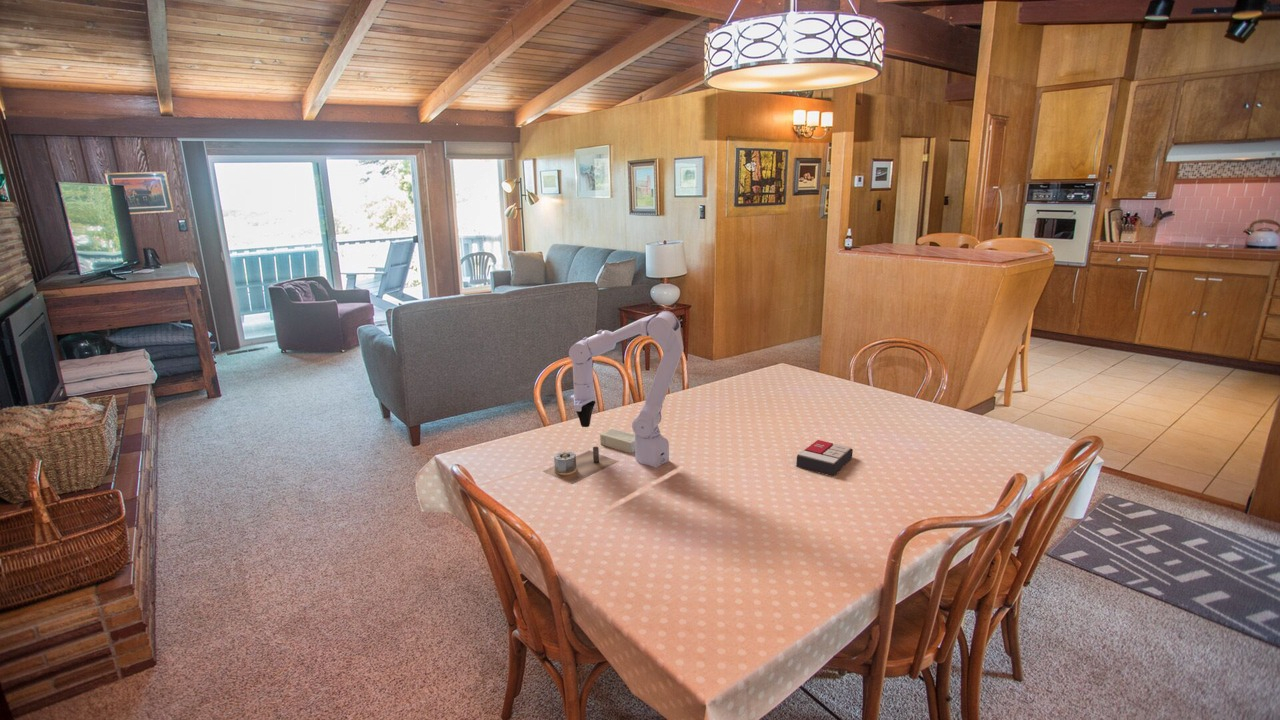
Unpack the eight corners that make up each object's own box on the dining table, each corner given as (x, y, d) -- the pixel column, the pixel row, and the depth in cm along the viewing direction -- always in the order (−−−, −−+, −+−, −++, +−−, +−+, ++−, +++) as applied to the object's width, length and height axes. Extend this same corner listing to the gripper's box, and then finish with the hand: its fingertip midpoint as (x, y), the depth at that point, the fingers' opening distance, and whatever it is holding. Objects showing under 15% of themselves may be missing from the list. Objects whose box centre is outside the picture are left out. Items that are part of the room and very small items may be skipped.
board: (618, 464, 179) (618, 445, 177) (572, 487, 166) (571, 467, 164) (589, 453, 186) (588, 435, 185) (543, 474, 173) (541, 455, 172)
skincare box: (600, 446, 191) (630, 457, 184) (599, 433, 190) (630, 443, 182) (613, 440, 196) (643, 449, 188) (613, 427, 194) (643, 436, 187)
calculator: (853, 446, 179) (835, 462, 168) (852, 460, 180) (833, 477, 169) (816, 438, 186) (796, 452, 174) (815, 451, 187) (795, 467, 175)
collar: (578, 465, 175) (577, 452, 174) (572, 473, 170) (571, 460, 169) (559, 463, 176) (558, 450, 175) (552, 472, 171) (552, 459, 170)
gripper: (577, 374, 186) (579, 416, 190) (562, 389, 173) (564, 434, 176) (600, 375, 185) (601, 417, 189) (586, 390, 171) (588, 436, 175)
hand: (585, 426), depth 182 cm, fingers closed
